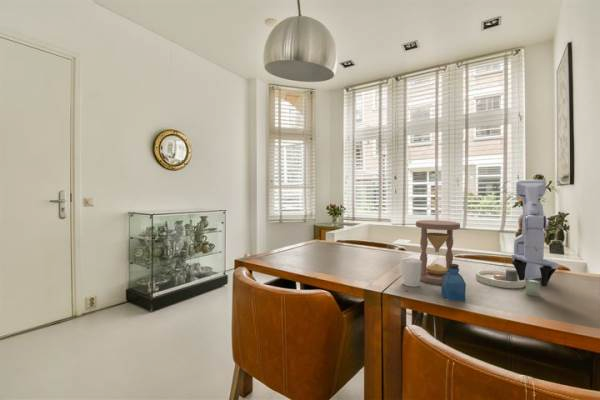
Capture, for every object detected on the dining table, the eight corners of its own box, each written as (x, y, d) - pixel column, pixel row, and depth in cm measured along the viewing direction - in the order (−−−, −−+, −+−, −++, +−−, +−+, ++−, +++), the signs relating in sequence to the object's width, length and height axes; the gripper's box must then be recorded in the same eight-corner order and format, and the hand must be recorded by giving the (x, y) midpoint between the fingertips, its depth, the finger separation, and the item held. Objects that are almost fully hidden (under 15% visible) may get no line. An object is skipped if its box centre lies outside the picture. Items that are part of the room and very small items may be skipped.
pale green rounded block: (529, 292, 112) (530, 279, 112) (541, 295, 108) (542, 282, 108) (523, 293, 111) (523, 280, 111) (534, 297, 107) (535, 283, 107)
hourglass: (445, 272, 138) (446, 220, 137) (467, 284, 120) (469, 224, 119) (408, 272, 138) (409, 220, 137) (425, 285, 120) (426, 224, 119)
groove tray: (493, 273, 136) (493, 268, 136) (534, 285, 120) (534, 279, 120) (467, 277, 130) (467, 272, 130) (506, 290, 114) (506, 284, 114)
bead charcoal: (509, 280, 123) (510, 268, 123) (519, 283, 119) (520, 271, 119) (503, 281, 122) (503, 269, 121) (513, 284, 118) (513, 272, 118)
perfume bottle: (465, 301, 103) (466, 267, 103) (446, 299, 105) (447, 266, 104) (459, 294, 109) (460, 263, 109) (441, 293, 111) (442, 262, 110)
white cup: (421, 282, 123) (422, 259, 123) (420, 288, 116) (421, 263, 116) (402, 280, 127) (402, 257, 126) (400, 285, 119) (400, 261, 119)
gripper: (506, 244, 114) (505, 278, 115) (549, 251, 101) (548, 290, 101) (518, 243, 117) (517, 276, 117) (562, 250, 103) (560, 288, 104)
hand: (532, 283), depth 109 cm, fingers open, 7 cm apart
